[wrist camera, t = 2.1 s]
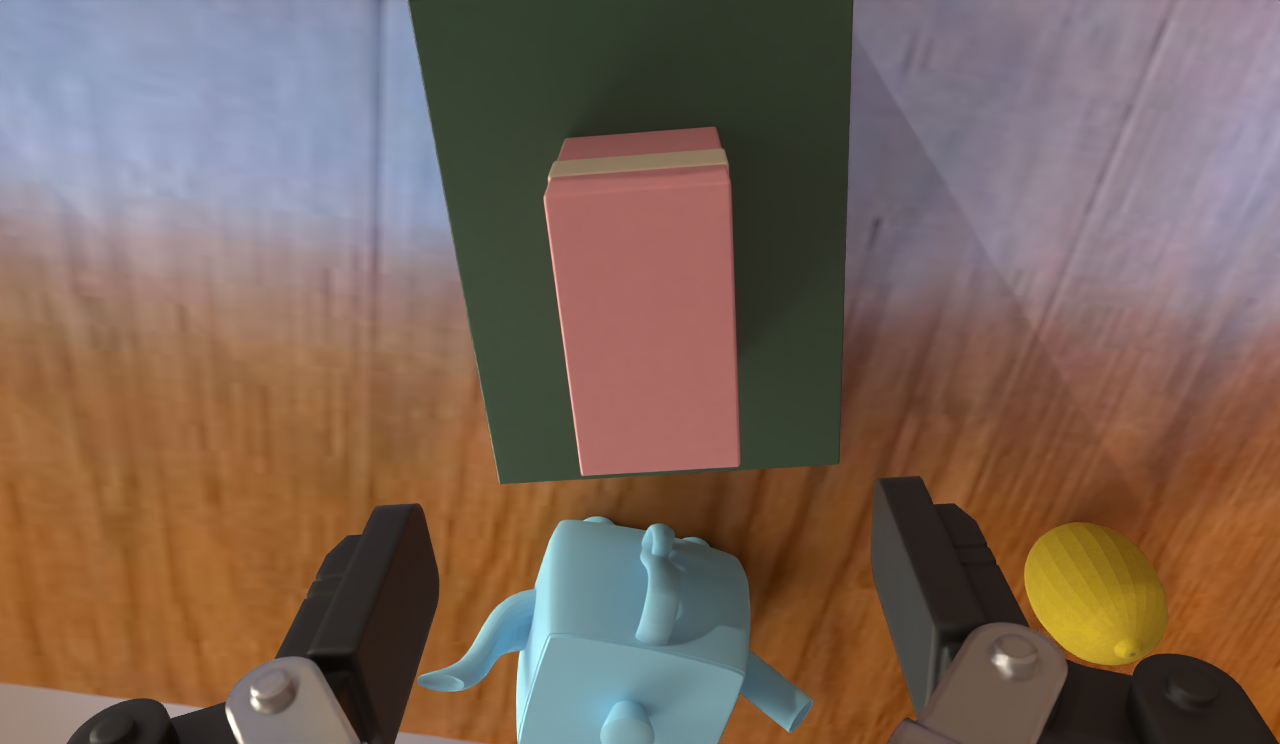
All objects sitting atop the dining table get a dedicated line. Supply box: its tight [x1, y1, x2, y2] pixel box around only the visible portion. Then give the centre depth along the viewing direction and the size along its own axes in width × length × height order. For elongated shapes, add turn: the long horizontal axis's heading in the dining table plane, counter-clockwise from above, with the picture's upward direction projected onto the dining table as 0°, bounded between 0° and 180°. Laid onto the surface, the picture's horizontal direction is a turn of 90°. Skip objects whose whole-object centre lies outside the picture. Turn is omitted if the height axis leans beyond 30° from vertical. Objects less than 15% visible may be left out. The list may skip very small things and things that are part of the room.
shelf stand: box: [408, 0, 853, 484], centre depth 32 cm, size 12×16×10 cm
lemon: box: [1025, 522, 1168, 665], centre depth 41 cm, size 6×6×8 cm
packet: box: [544, 127, 740, 476], centre depth 25 cm, size 4×8×6 cm, turn 5°
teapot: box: [417, 516, 813, 744], centre depth 42 cm, size 18×14×10 cm
